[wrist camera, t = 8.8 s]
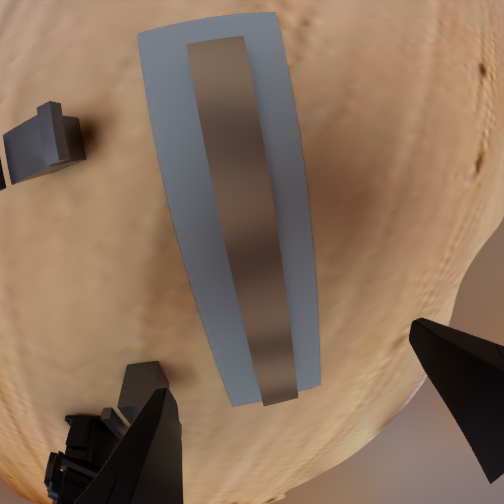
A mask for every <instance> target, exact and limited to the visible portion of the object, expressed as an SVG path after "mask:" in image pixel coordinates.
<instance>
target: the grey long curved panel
mask: <svg viewBox="0 0 504 504" xmlns="http://www.w3.org/2000/svg"><path fill="white" fill-rule="evenodd" d="M236 36H244V41H245V46H246V51H247V56H248V61H249V66H250V71H251V76H252V81H253V87H254V92H255V97H256V103H257V108H258V114H259V119H260V125H261V131H262V136H263V142H264V148H265V154H266V160H267V166H268V172H269V178H270V185H271V191H272V197H273V204H274V210H275V217H276V224H277V230H278V237H279V244H280V251H281V258H282V265H283V273H284V280H285V288H286V295H287V303H288V311H289V319H290V327H291V335H292V344H293V353H294V361H295V370H296V380H297V389H298V392H299V391H302V390H306V389H309V388H312V387H316V386H319V385H321V378H320V340H319V317H318V299H317V284H316V270H315V258H314V247H313V236H312V226H311V216H310V207H309V199H308V190H307V182H306V174H305V167H304V160H303V153H302V146H301V139H300V133H299V127H298V120H297V114H296V109H295V103H294V97H293V92H292V86H291V81H290V76H289V71H288V66H287V61H286V56H285V51H284V47H283V42H282V38H281V33H280V29H279V25H278V21H277V16H276V12H263V13H246V14H235V15H226V16H218V17H211V18H204V19H198V20H193V21H187V22H182V23H177V24H173V25H168V26H164V27H160V28H156V29H152V30H149V31H145V32H142V33H138V42H139V50H140V58H141V65H142V72H143V79H144V85H145V91H146V97H147V103H148V109H149V115H150V120H151V126H152V131H153V136H154V141H155V146H156V151H157V156H158V160H159V165H160V169H161V174H162V178H163V183H164V187H165V191H166V195H167V200H168V204H169V208H170V212H171V216H172V220H173V224H174V227H175V231H176V235H177V239H178V242H179V246H180V250H181V253H182V257H183V261H184V264H185V268H186V271H187V274H188V278H189V281H190V284H191V288H192V291H193V294H194V298H195V301H196V304H197V307H198V310H199V313H200V317H201V320H202V323H203V326H204V329H205V332H206V335H207V338H208V341H209V344H210V347H211V349H212V352H213V355H214V358H215V361H216V364H217V366H218V369H219V372H220V375H221V377H222V380H223V383H224V385H225V388H226V391H227V393H228V396H229V399H230V401H231V404H232V406H233V407H235V406H240V405H245V404H250V403H255V402H259V401H262V397H261V393H260V390H259V386H258V382H257V378H256V374H255V370H254V366H253V362H252V358H251V354H250V350H249V345H248V341H247V337H246V333H245V329H244V325H243V320H242V316H241V312H240V308H239V303H238V299H237V295H236V291H235V286H234V282H233V277H232V273H231V269H230V264H229V260H228V255H227V251H226V246H225V241H224V237H223V232H222V228H221V223H220V218H219V214H218V209H217V204H216V199H215V194H214V190H213V185H212V180H211V175H210V170H209V165H208V160H207V155H206V150H205V145H204V140H203V134H202V129H201V124H200V119H199V113H198V108H197V102H196V97H195V91H194V86H193V80H192V74H191V69H190V63H189V57H188V51H187V45H186V44H191V43H196V42H202V41H207V40H214V39H220V38H228V37H236Z"/></svg>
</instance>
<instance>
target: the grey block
mask: <svg viewBox="0 0 504 504" xmlns="http://www.w3.org/2000/svg"><path fill="white" fill-rule="evenodd" d="M37 113H38V115H37V116H35V117H33V118H31V119H29V120H27V121H26V122H24V123H22V124H20V125H19V126H17V127H15V128H14V129H12V130H10V131H9V132H7V133H5V134H4V135H3V139H4V146H5V153H6V159H7V164H8V169H9V174H10V179H11V183H12V185H13V184H16V183H20V182H23V181H26V180H29V179H32V178H36V177H39V176H43V175H46V174H50V173H53V172H55V171H58V170H60V169H62V168H65V167H67V166H70V165H72V164H75V163H78V162H80V161H83V160H86V157H85V152H84V147H83V142H82V137H81V131H80V125H79V119H78V118H75V117H68V116H62V109H61V103H57V102H52V101H49V102H47V103H45V104H43V105H41V106H39V107H37ZM5 188H6V184H5V179H4V175H3V170H2V164H1V159H0V191H2V190H3V189H5Z"/></svg>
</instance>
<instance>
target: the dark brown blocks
mask: <svg viewBox="0 0 504 504" xmlns="http://www.w3.org/2000/svg"><path fill="white" fill-rule="evenodd" d="M162 387H167V388H168V389H169V382H168V380H167V378H166V377H165V375H164V373H163V371H162V369H161V367H160V365H159V363H158V361H154V362H147V363H140V364H132V365H127V368H126V372H125V376H124V380H123V384H122V388H121V392H120V397H119V401H118V406H117V408H118V409H119V410H120V412H121V413H122V414H123V415H124V417H125V418H126V419H127V420H128V422H129V423H130V424H132V423H133V421H134V420H135V418H136V417H137V415H138V414H139V412H140V411H141V410H142V408H143V407H144V405H145V404H146V402H147V401H148V399H149V398H150V396H151V395H152V393H153V392H154V390H155V389H156V388H162ZM101 420H102V421H103V422H104V424H105V425H106V426H107V427H108V428H109V429H110V430H111V431H112V433H113V434H114V435H115V436H116V437H117V438H118V439H119V440H121V439H122V438H123V436H124V435H125V433H126V432H127V430H128V429H129V428H128V427H127V426H126V425H125V423H124V422H123V421H122V420H121V418H120V417H119V416H118V415H117V414H116V412H115V411H114V410H113V408H103V412H102V416H101ZM179 425H180V433H181V436H182V424H181V423H180V421H179Z"/></svg>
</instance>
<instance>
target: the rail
mask: <svg viewBox="0 0 504 504" xmlns="http://www.w3.org/2000/svg"><path fill="white" fill-rule="evenodd" d="M186 45H187V51H188V57H189V63H190V69H191V74H192V80H193V86H194V91H195V97H196V102H197V108H198V113H199V119H200V124H201V129H202V134H203V140H204V145H205V150H206V155H207V160H208V165H209V170H210V175H211V180H212V185H213V190H214V194H215V199H216V204H217V209H218V214H219V218H220V223H221V228H222V232H223V237H224V241H225V246H226V251H227V255H228V260H229V264H230V269H231V273H232V277H233V282H234V286H235V291H236V295H237V299H238V303H239V308H240V312H241V316H242V320H243V325H244V329H245V333H246V337H247V341H248V345H249V350H250V354H251V358H252V362H253V366H254V370H255V374H256V378H257V382H258V386H259V390H260V393H261V397H262V401H263V405H264V406H268V405H272V404H276V403H280V402H284V401H288V400H291V399H295V398H298V389H297V380H296V370H295V361H294V353H293V344H292V335H291V327H290V319H289V311H288V303H287V295H286V288H285V280H284V273H283V265H282V258H281V251H280V244H279V237H278V230H277V224H276V217H275V210H274V204H273V197H272V191H271V185H270V178H269V172H268V166H267V160H266V154H265V148H264V142H263V136H262V131H261V125H260V119H259V114H258V108H257V103H256V97H255V92H254V87H253V81H252V76H251V71H250V66H249V61H248V56H247V51H246V46H245V41H244V36H236V37H228V38H220V39H214V40H207V41H202V42H196V43H191V44H186Z"/></svg>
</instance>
